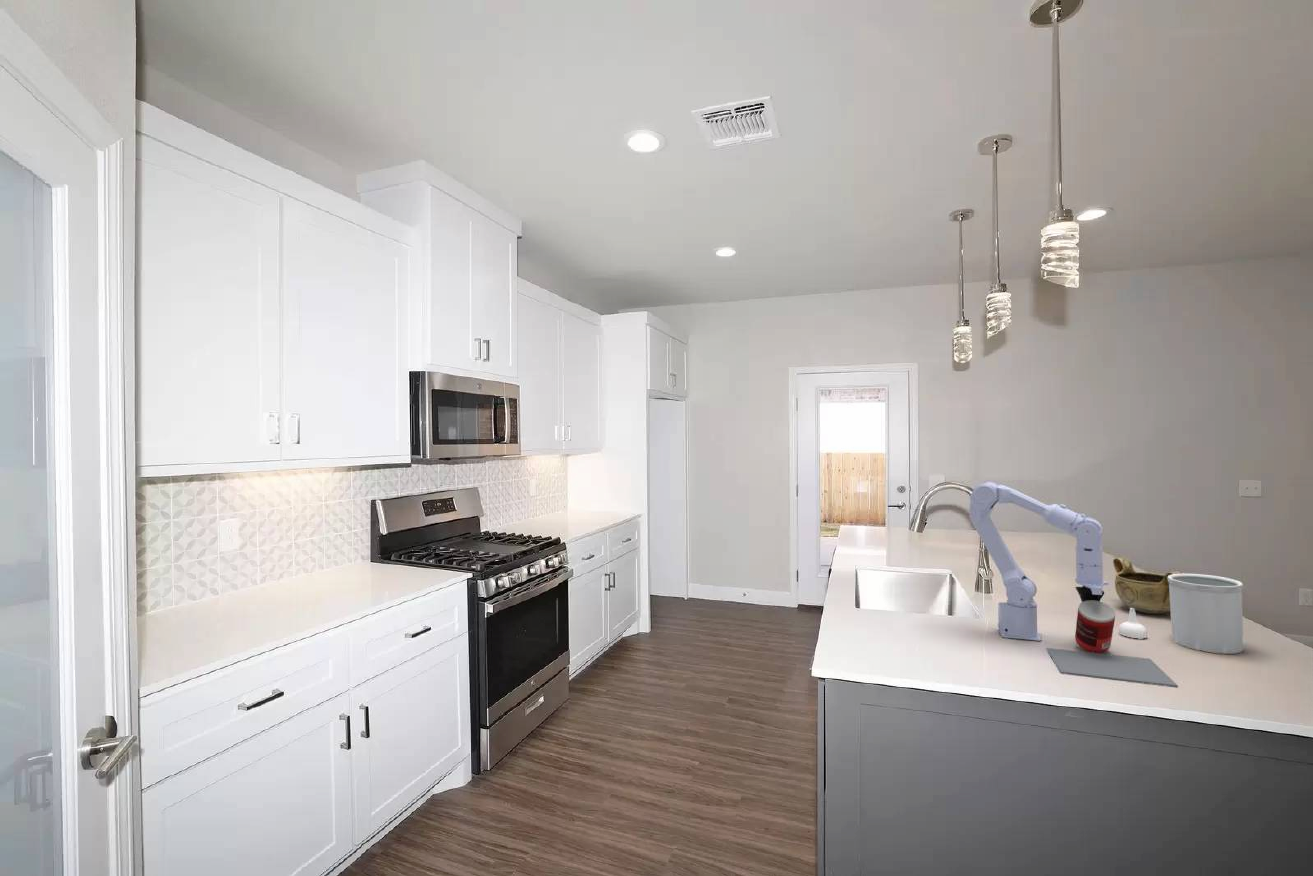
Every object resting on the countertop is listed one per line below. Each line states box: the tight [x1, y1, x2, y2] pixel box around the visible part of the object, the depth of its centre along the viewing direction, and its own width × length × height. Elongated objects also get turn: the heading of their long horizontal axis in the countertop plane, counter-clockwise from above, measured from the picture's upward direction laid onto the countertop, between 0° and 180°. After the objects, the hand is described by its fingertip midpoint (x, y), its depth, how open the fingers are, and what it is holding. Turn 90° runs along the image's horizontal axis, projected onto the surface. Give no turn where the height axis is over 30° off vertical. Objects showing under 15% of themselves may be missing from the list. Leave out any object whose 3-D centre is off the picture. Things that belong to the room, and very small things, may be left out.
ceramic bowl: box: [1112, 557, 1184, 615], centre depth 188 cm, size 22×17×15 cm
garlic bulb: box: [1118, 607, 1148, 640], centre depth 166 cm, size 6×6×8 cm
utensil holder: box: [1168, 573, 1244, 655], centre depth 158 cm, size 15×15×18 cm
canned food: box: [1074, 600, 1116, 654], centre depth 154 cm, size 8×8×11 cm
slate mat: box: [1045, 647, 1179, 688], centre depth 145 cm, size 22×17×1 cm
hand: (1090, 615), depth 158 cm, fingers closed
